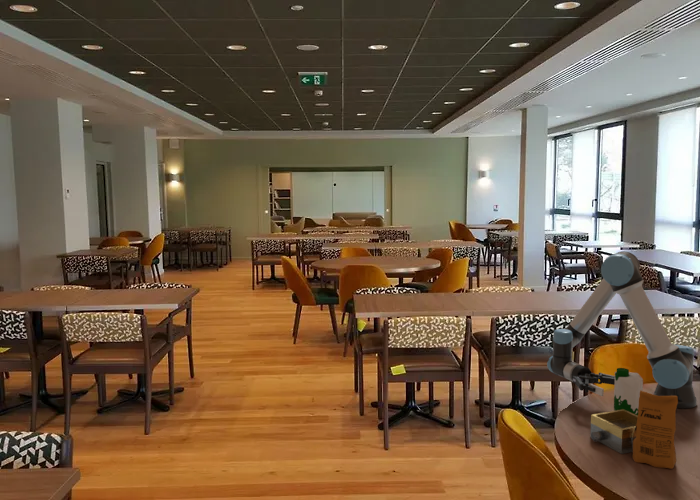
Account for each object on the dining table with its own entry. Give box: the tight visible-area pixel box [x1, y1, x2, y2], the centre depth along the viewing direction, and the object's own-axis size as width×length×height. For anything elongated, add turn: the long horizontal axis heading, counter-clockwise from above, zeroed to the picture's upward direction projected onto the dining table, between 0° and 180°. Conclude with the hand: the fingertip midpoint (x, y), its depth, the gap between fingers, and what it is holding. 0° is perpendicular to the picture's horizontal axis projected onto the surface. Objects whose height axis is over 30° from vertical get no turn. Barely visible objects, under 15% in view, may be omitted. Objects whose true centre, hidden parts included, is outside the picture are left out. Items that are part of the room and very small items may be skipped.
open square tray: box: [590, 409, 638, 455], centre depth 201 cm, size 17×14×8 cm
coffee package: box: [632, 390, 678, 469], centre depth 187 cm, size 10×12×22 cm
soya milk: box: [613, 367, 644, 416], centre depth 217 cm, size 9×9×20 cm
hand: (617, 390), depth 220 cm, fingers open, 13 cm apart
